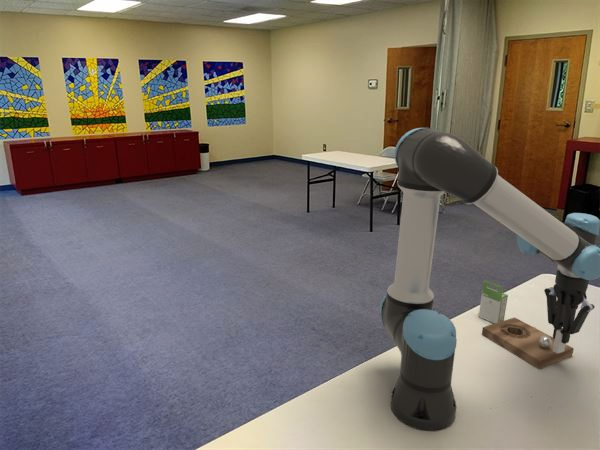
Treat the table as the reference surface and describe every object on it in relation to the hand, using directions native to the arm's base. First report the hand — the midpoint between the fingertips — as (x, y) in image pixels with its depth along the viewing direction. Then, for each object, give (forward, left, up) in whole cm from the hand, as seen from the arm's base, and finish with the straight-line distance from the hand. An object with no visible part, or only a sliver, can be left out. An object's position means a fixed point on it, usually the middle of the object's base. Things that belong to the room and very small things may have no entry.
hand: (558, 351), depth 128 cm
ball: (0, +4, 0) cm, 4 cm away
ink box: (+3, +26, -4) cm, 26 cm away
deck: (0, +10, -4) cm, 11 cm away
